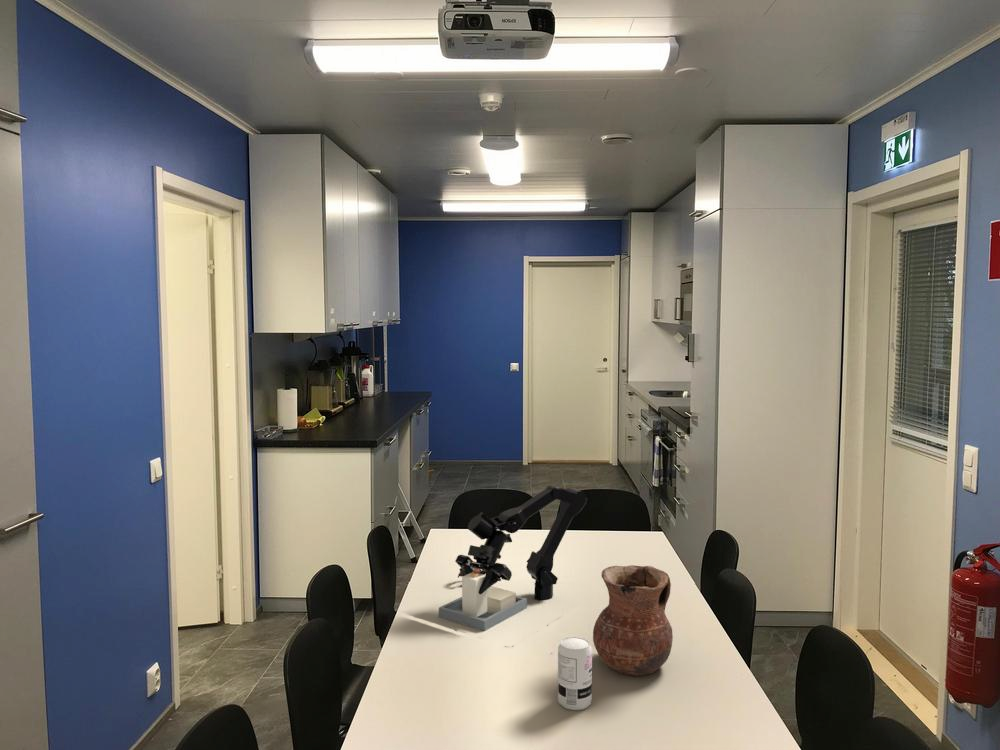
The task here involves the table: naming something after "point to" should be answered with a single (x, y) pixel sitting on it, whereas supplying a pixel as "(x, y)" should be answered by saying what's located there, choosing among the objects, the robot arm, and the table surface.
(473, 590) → the juice carton
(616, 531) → the table surface
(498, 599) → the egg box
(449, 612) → the tote
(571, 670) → the supplement can
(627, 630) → the jug
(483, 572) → the pottery mug
